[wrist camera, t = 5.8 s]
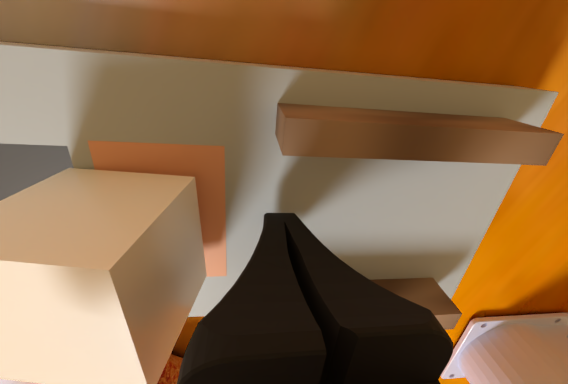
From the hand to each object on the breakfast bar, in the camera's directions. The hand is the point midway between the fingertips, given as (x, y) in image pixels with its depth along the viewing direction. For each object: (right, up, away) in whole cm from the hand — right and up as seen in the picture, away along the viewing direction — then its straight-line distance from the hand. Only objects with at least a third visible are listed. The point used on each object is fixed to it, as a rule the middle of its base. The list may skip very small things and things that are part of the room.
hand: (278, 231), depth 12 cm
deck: (-3, +1, +2) cm, 4 cm away
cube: (-6, 0, 0) cm, 6 cm away
